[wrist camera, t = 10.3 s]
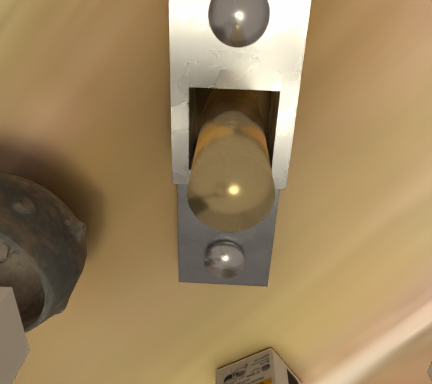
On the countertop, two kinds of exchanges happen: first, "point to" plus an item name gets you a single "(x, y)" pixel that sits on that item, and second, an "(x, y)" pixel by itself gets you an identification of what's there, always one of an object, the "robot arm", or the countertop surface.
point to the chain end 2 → (224, 240)
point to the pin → (231, 164)
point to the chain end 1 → (236, 66)
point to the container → (257, 370)
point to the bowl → (38, 248)
